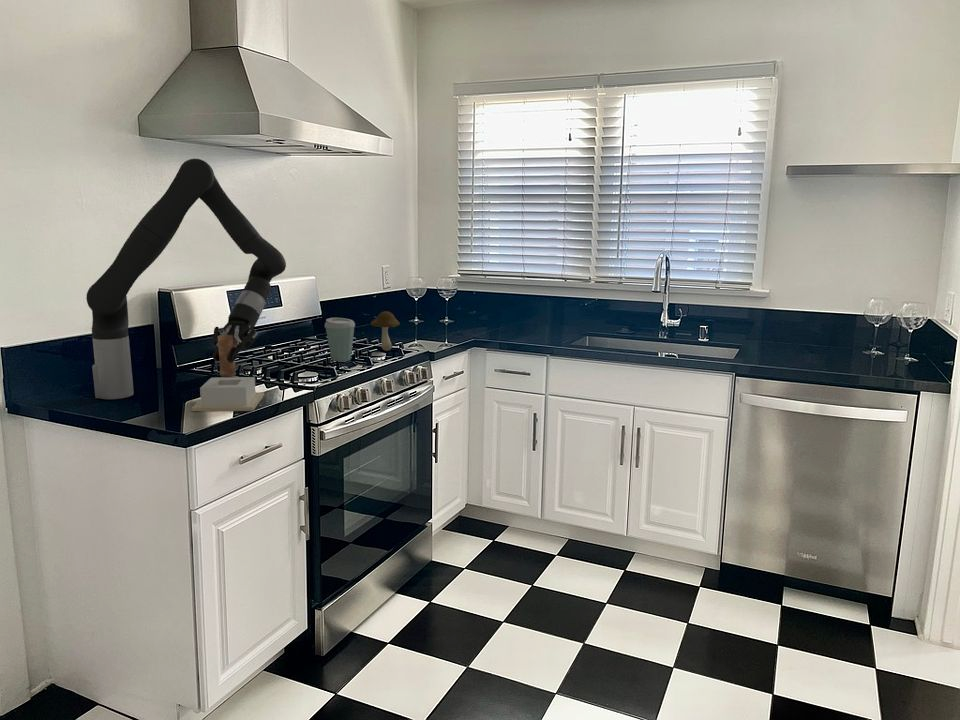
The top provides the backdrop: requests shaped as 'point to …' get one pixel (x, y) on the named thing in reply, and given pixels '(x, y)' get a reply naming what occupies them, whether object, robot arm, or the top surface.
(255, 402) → the socket block
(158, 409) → the top surface
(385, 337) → the mushroom
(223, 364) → the peg
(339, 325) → the disposable coffee cup
